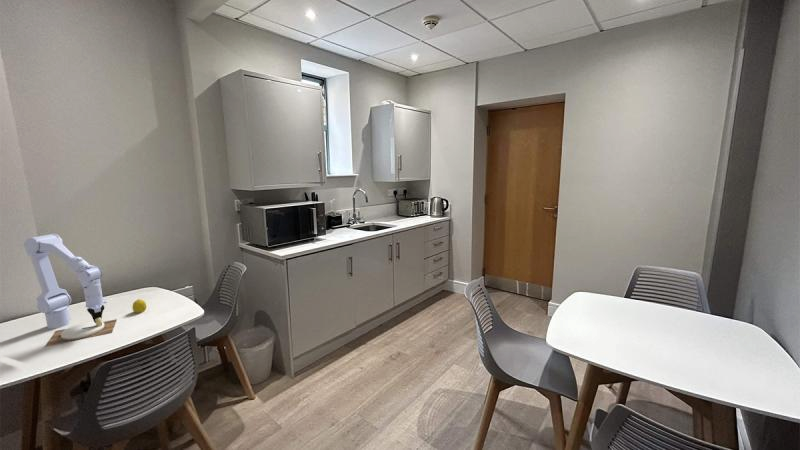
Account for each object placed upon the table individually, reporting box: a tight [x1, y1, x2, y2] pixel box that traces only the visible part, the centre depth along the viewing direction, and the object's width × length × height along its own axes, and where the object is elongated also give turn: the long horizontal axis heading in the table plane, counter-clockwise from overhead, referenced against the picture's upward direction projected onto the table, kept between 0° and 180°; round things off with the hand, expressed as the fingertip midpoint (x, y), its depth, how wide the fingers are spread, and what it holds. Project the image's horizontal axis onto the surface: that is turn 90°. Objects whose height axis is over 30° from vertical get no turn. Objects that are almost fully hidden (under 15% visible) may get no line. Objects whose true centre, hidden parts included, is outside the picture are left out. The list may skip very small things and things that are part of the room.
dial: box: [61, 317, 105, 340], centre depth 145 cm, size 14×14×5 cm
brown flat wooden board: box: [44, 318, 118, 348], centre depth 146 cm, size 16×21×2 cm
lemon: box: [132, 298, 147, 314], centre depth 166 cm, size 6×6×8 cm
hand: (98, 322), depth 149 cm, fingers closed
